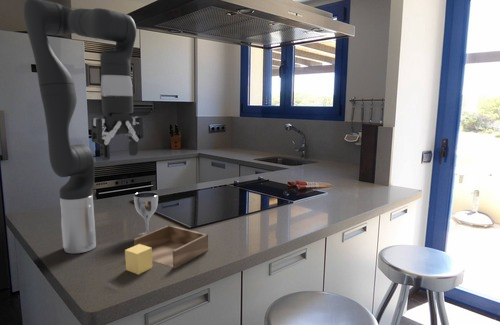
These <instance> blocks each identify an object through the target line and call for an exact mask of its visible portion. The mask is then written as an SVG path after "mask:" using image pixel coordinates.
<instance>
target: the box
mask: <svg viewBox="0 0 500 325" xmlns="http://www.w3.org/2000/svg"><path fill="white" fill-rule="evenodd" d="M149 232H150V231H149ZM138 244H141V245H145V246H148V247H151V248H152V262H154V263H159V264H162V265H164V266H168V267H170V268H173V269H177V268H179V267H180V266H182V265H184V264H186V263H188V262H189V261H191V260H192V259H194V258H196V257H199V256H200V255H202V254H204V253H206V252H207V251H209V234H207V233H204V232H199V231H195V230H191V229H186V228H182V227H179V226H175V225H170V224H168V225H166V226H163V227H160V228H158V229H155V230H153V231H151V232H150V233H148V234H145V235H140V236H138V237H135V238H134V239H133V246H136V245H138Z"/></svg>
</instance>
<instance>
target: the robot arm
mask: <svg viewBox="0 0 500 325" xmlns="http://www.w3.org/2000/svg"><path fill="white" fill-rule="evenodd" d="M23 3H24V4H23V20H24V24H25V28H26V32H27V36H28V39H29V42H30V47H31V49H32V54H33V57H34V63H35V68H36V72H37V73H36V74H37V79H38V81H37V82H38V86H39V92H40V98H41V103H42V106H43V112H44V118H45V123H46V124H45V125H46V131H47V143H48V144H47V145H48V155H49V158H48V159H49V163H50V166H51V169H52V171H53V172H54V173H55V175H57V177H60V178H68V177H69V179H68V181H66V183H65V184H63V186H62V187H60V189H59V203H60V204H59V205H60V212H61V219H60V225H61V226H60V227H61V238H62V249H63V251H64V252H65V253H68V254H81V253H86V252H89V251H92V250H94V249H95V248H96V247H97V239H96V225H95V224H96V223H95V209H94V198H93V197H94V195H93V189H94V186H95V159H94V154H93V152H92V150H91V149H90V147H89V146H87V145H85V144H83V143H82V144H81V143H78V144H71V141H70V140H71V139H70V133H69V132H70V124H71V122H72V121H71V120H72V119H73V115H74V112H75V110H76V106H77V101H78V100H77V93H76V86H75V82H74V79H73V77H72V74H71V73H70V71H69V70H68V69H67V68H66V66H65V65H64V64H63V63H62V62H61V60H60V59H59V58H58V57H57V55H56V54H55V52H54V50H53V49H52V47H51V45H50V41H49V39H48V35H50V36H65V35H71V34H76V35H78V36H81V37H84V38H89V39H91V38H92V39H97V40H98V39H99V40H103V41H104V40H105V41H110V42H115V47H114V49H113V50H107V51H106V50H105V51H103V52H102V53H101V54H100V73H101V74H100V75H101V77H100V79H101V80H100V94H101V95H100V97H101V111H102V114H103V116H102V118H99V117H93V118H91V142H92V143H96V144H98V145H99V151H100V152H99V153H100V154H99V155H100V157H101V159H102V160H104V161H108V160H110V159H111V154H110V151H111V150H110V144H109V143H110V141H111V139H113V138H114V137H115V136H118V135H124V136H126V138H128V140H129V141H128V153H129V154H128V155H129V156H133V157H134V156H137V154H138V152H139V151H138V148H139V147H138V142H139V140H142V139H144V138H145V136H144V124H143V118H142V116H133V115H132V114H133V112H134V97H133V96H134V94H133V82H132V69H131V65H132V64H131V60H132V55H133V50H134V46H135V42H136V39H137V38H136V37H137V25H136V23H135V20H134V19H133V18H132V16H130V15H129V14H126V13H122V12H118V11H114V10H110V9H106V8H99V7H96V8H91V9H90V8H75V9H72V8H69V7H67V6H65V5H62V4H60V3H58V2H54V1H47V0H25V1H24V2H23ZM132 125H133V126H132ZM103 127H104V128H103Z"/></svg>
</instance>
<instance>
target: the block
mask: <svg viewBox="0 0 500 325" xmlns="http://www.w3.org/2000/svg"><path fill="white" fill-rule="evenodd" d="M124 258H125V270H126V271H128V272H130V273H134V274H136V275H139V276H140V274H141V275H142V274H143V273H144V272H147V271H148V270H151V269H152V268H153V266H154V265H153V261H152V248H151V247H148V246H145V245H141V244H138V245H136V246H134V245H133V246H131V247H129V248H128V247H127V249H124Z"/></svg>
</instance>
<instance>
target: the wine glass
mask: <svg viewBox="0 0 500 325" xmlns="http://www.w3.org/2000/svg"><path fill="white" fill-rule="evenodd" d="M133 202H134V207H135V210H136V211H137V213H138V214H139V215H140V216H141V217H142V218H143V219H144V223H145V228H146V229H145V230H146V231H145V232H142V233H139V234H138V236H139V235H140V236H143V235H145V234H148V233H150V230H149V228H150V227H149V226H150V224H149V223H150V219H151V217H152V216H153V215H154V213H156V211H157V208H158V202H159V195H158V192H156V191H141V192H136V193H135V194H134V195H133Z"/></svg>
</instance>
